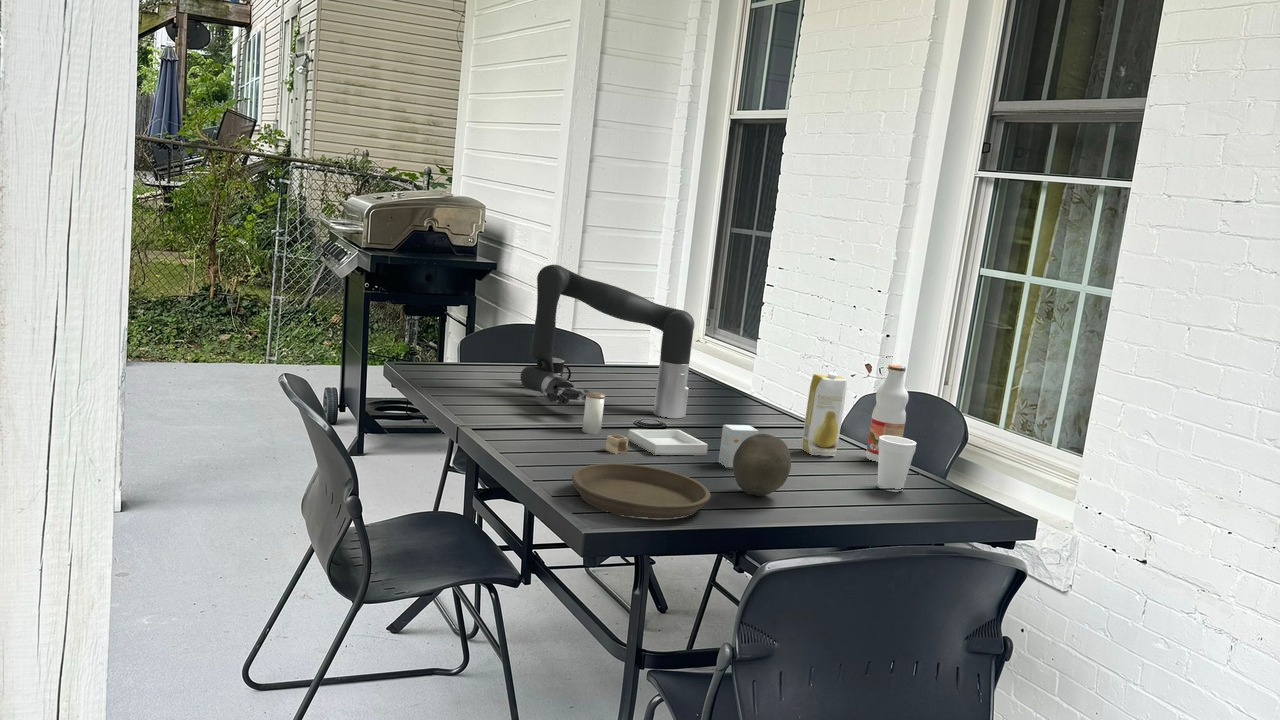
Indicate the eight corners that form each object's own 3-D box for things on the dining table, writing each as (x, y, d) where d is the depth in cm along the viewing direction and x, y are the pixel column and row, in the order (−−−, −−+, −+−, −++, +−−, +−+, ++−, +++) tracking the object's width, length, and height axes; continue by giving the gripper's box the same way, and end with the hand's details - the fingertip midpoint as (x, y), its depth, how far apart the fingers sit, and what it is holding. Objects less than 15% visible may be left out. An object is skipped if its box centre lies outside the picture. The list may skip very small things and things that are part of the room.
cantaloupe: (715, 491, 242) (724, 430, 240) (753, 484, 252) (761, 425, 250) (762, 508, 233) (771, 445, 230) (799, 501, 243) (808, 440, 240)
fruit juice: (895, 467, 289) (911, 370, 285) (862, 460, 293) (877, 364, 288) (900, 460, 298) (916, 367, 293) (868, 454, 301) (883, 361, 297)
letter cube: (616, 449, 271) (618, 433, 271) (627, 453, 268) (629, 437, 268) (605, 450, 269) (607, 434, 268) (615, 454, 266) (617, 438, 265)
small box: (744, 463, 273) (750, 425, 271) (753, 469, 268) (759, 430, 266) (717, 462, 270) (722, 423, 268) (726, 468, 265) (731, 429, 263)
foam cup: (864, 484, 265) (871, 436, 263) (886, 482, 271) (894, 434, 269) (892, 495, 258) (901, 445, 256) (915, 492, 264) (923, 444, 262)
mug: (538, 392, 333) (542, 361, 332) (530, 386, 341) (534, 356, 340) (573, 393, 338) (576, 363, 337) (564, 387, 346) (567, 358, 345)
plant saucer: (731, 505, 233) (733, 486, 232) (665, 536, 207) (668, 514, 206) (616, 473, 248) (618, 455, 248) (542, 497, 222) (544, 477, 221)
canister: (595, 429, 291) (600, 391, 289) (604, 434, 286) (608, 396, 284) (578, 429, 288) (583, 391, 286) (586, 434, 283) (591, 395, 282)
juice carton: (809, 456, 289) (821, 373, 285) (797, 449, 297) (809, 368, 293) (838, 458, 292) (851, 376, 288) (826, 450, 299) (839, 370, 296)
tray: (677, 439, 290) (678, 429, 290) (706, 455, 276) (707, 444, 276) (627, 440, 282) (628, 429, 282) (654, 456, 269) (656, 445, 268)
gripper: (537, 376, 305) (558, 388, 291) (580, 377, 311) (602, 388, 297) (534, 400, 306) (555, 413, 292) (577, 401, 313) (600, 413, 298)
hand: (579, 401), depth 295 cm, fingers open, 8 cm apart
